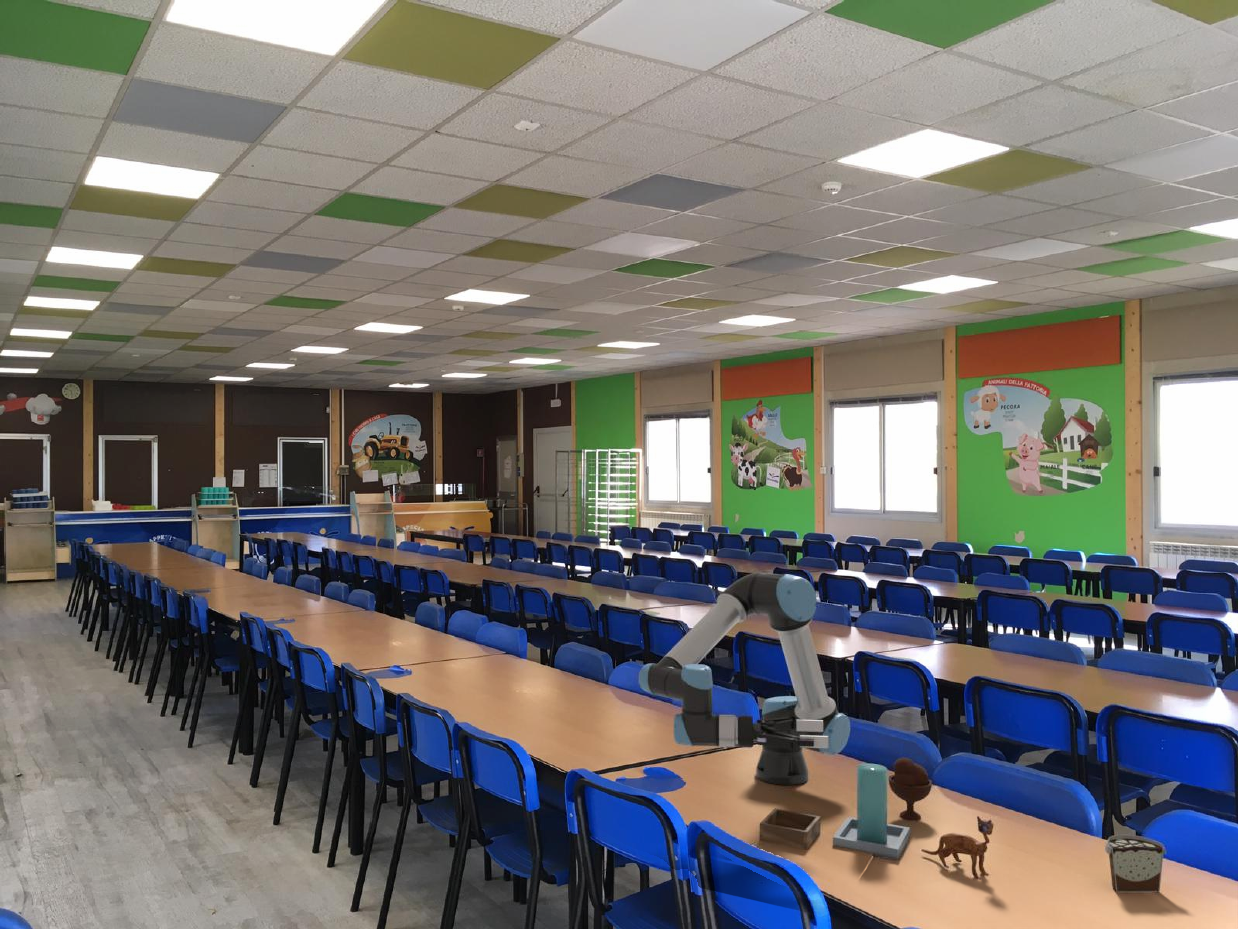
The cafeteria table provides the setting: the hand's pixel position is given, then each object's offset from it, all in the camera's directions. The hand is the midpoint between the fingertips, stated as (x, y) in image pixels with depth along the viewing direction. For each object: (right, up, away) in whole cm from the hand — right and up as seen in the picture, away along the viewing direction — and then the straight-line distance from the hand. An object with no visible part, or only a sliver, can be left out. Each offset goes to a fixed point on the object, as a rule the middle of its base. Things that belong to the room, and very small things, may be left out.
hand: (825, 734), depth 220 cm
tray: (+11, -26, -2) cm, 28 cm away
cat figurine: (+26, -26, -15) cm, 40 cm away
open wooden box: (-8, -26, 0) cm, 27 cm away
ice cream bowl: (+25, -26, +15) cm, 40 cm away
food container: (+60, -26, -24) cm, 70 cm away
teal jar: (+11, -25, -2) cm, 27 cm away
